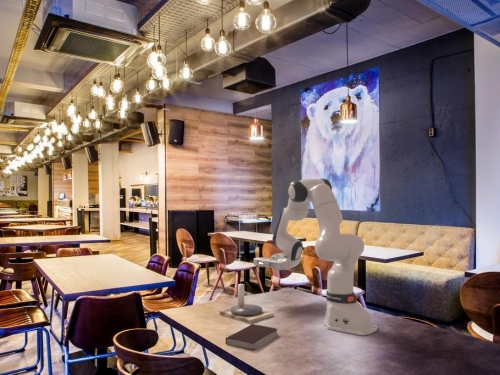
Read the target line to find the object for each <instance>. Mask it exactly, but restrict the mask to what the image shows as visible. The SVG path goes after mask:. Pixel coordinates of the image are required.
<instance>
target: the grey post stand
mask: <svg viewBox="0 0 500 375" xmlns="http://www.w3.org/2000/svg"><path fill="white" fill-rule="evenodd" d="M262 310H263V307H262V306H260V305H256V304H250V303H249V304H248V303H247V304H246V303H245V283H244V284H243V283H239V284H238V285H237V305H233V306H231V307H230V311H231V313H233V314H237V315H256V314H259V313H261V312H262Z"/></svg>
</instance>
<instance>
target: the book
mask: <svg viewBox="0 0 500 375" xmlns="http://www.w3.org/2000/svg"><path fill="white" fill-rule="evenodd" d="M277 336H278V328H275V327H271V326H266V325H261V324H254V323H250V325H248V326H246V327H244V328H241V329H240V330H238V331H236V332H234V333H232V334H230V335H229V336H227V337H225V344H226V345H230V346H234V347H238V348H241V349H245V350H249V351H255V350H257V349H258V348H260V347H261V346H263V345H264V344H266V343H267V342H269V341H271V340H272V339H273V338H276V337H277Z"/></svg>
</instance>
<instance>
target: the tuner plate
mask: <svg viewBox="0 0 500 375" xmlns="http://www.w3.org/2000/svg"><path fill="white" fill-rule="evenodd" d="M230 308H231V307H230ZM230 308H226V309H222V310H219V315H222V316H224V317H227V318H230V319H234V320H237V321H240V322H243V323H245V324H246V323H247V324H250V325H251V324H254V323H255V322H259V321H263V320H265V319H269V318H272V317H274V312H273V311H268V310H266V309H265V310H264V309H262V312H261V313H259V314H256V315H237V314H233V313H231V311H230Z"/></svg>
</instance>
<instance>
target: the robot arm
mask: <svg viewBox="0 0 500 375" xmlns="http://www.w3.org/2000/svg"><path fill="white" fill-rule="evenodd" d="M287 194H288V202H287V206H286V207H284V208H283V209H282V211H281V213H280V216H279V219H278V222H277V225H276V229H275V232H274V233H273V235H272V244H273V246H274V247H276V248H278V249H280V250H281V251H283V252H280V253H274V254H272V255H271V256H270V258H269V257H262V256H261V257H254V258H253V265H254V266H258V267H261V268H271V269H272V270H274V271H290V270H291V269H292V268H295V267H297V266H298V265H300V263H301V261H302V254H303V251H304V245H303V242H302V241H301V240H299V239H298V238H296V237H294V236H293V235H291V234H290V233H289V232H288V231H287V229H288V226H289V222H290V221H294V222H297V221H298V222H299V221H302V220H303V219H306V218H307V216H308V214H309V210H310V203H311V204H312V207H313V211H314V213H315V218H316V220H317V223H318V228H319V230H318V231H319V232H318V238H317V240H316V241H315V245H314V251H315V254H316V256H317V257H318V258H319V259H320V260H323V261H327V262H328V261H329V262H333V263H332V267H331V268H330V269H329V270H328V272H327V279H326V280H327V283H326V284H327V285H326V288H327V289H326V292H325V293H326V298H325V299H326V310H325V317H324V320H323V324H324V325H325V326H326V329H328V330H331V331H337V332H342V333H347V334H352V335H358V336H367V335H371V334H373V333H375V332H377V330H378V325H376V324H373V320H372V317H371V314H370V312H369V311H368V310H367V309H365V308H364V307H363V306H362V304H360V303H359V301H358V298H360V294H357V295H356V293H355V292H354V274H355V270H356V265H357V263H358V261H359V258H360V256H361V255H362V254H363V253H364V251H365V243H364V241H363V239H362V238H361V237H360V236H359V235H357V234H352V233H343V234H342V233H341V229H340V226H341V224H342V223H343V220H344V217H343V214H342V212H341V209H340V205H339V203H338V200H337V198H336V196H335V193H334V191H333V186H332V183H331V182H330V180H329V179H327V178H322V177H321V178H305V179H300V180H293V181H292V182H290V183H289V185H288V188H287Z"/></svg>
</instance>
